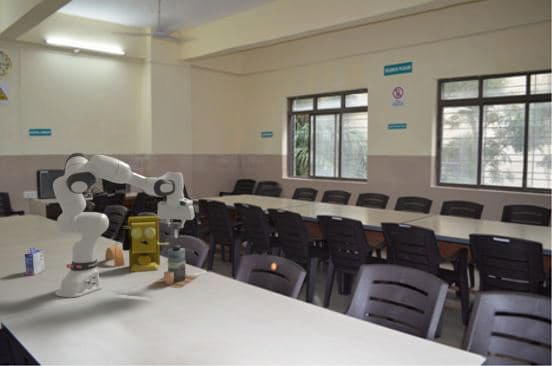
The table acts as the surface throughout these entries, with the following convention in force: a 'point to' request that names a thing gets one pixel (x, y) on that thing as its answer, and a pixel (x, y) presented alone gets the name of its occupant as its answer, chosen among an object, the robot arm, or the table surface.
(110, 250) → the arch
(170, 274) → the pink egg shape
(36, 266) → the ink cartridge box
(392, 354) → the table surface
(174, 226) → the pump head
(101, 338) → the table surface
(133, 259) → the vintage telephone
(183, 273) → the stand
